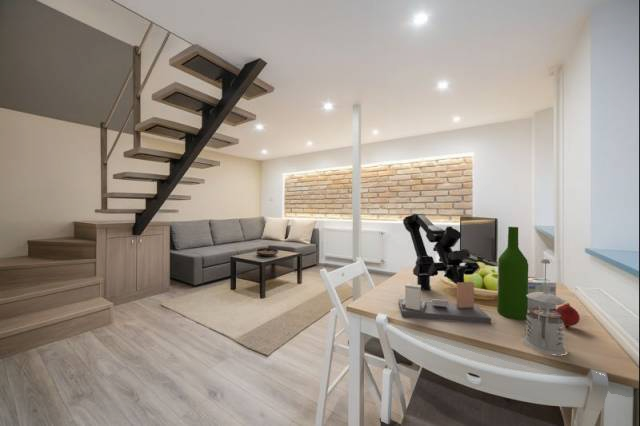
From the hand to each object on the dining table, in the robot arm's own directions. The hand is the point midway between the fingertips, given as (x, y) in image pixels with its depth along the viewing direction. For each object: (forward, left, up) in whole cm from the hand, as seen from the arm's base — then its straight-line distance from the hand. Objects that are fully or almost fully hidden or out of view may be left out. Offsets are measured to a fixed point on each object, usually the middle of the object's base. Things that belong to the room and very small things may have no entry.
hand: (463, 288), depth 94 cm
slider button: (+9, -17, -7) cm, 21 cm away
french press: (+18, +18, -9) cm, 27 cm away
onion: (-1, +30, -9) cm, 32 cm away
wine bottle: (-5, +16, -9) cm, 20 cm away
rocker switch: (+4, -8, -7) cm, 11 cm away
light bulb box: (-19, +27, -9) cm, 35 cm away
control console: (+4, -8, -9) cm, 13 cm away
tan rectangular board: (+1, +1, -7) cm, 7 cm away
